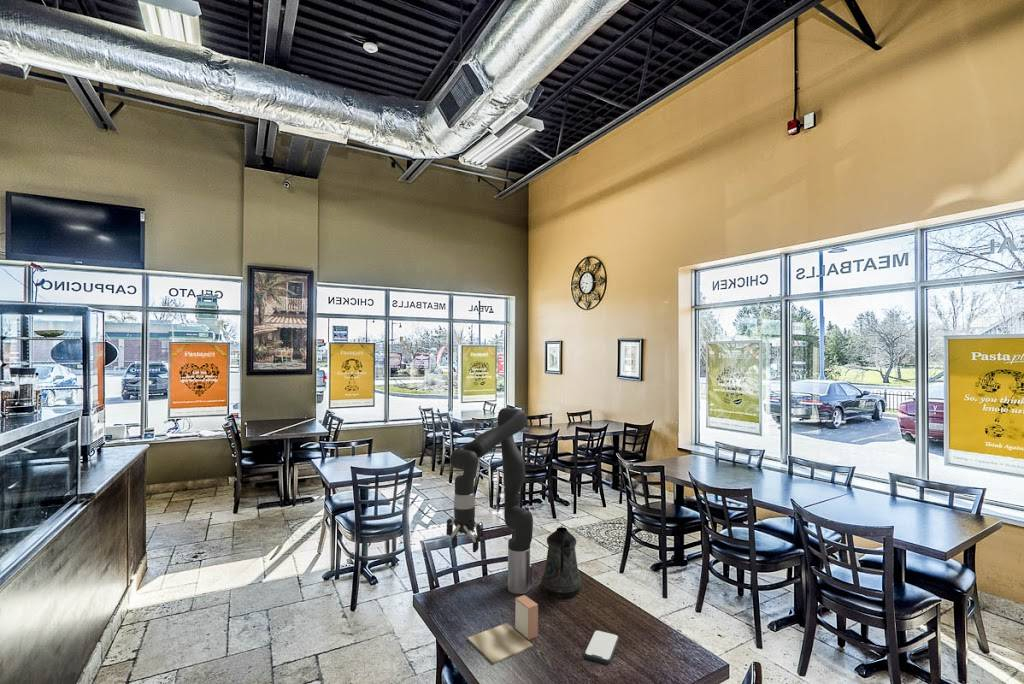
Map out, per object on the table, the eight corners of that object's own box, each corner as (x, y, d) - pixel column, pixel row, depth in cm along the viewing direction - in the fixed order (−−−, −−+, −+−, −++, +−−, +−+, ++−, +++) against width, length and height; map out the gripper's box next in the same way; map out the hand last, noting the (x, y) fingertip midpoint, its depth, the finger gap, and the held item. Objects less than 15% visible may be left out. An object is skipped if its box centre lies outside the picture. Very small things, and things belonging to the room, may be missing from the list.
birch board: (506, 624, 177) (506, 622, 177) (533, 647, 164) (533, 645, 164) (467, 639, 168) (467, 637, 168) (492, 664, 155) (492, 662, 155)
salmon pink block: (524, 625, 177) (524, 594, 177) (537, 636, 170) (538, 604, 170) (514, 629, 174) (515, 598, 174) (528, 640, 168) (528, 608, 168)
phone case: (594, 633, 173) (582, 658, 158) (594, 629, 173) (582, 653, 158) (619, 639, 170) (610, 666, 155) (619, 635, 170) (610, 661, 155)
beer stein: (563, 575, 216) (564, 518, 216) (594, 594, 200) (595, 532, 200) (533, 585, 206) (534, 526, 207) (563, 606, 190) (564, 541, 191)
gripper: (486, 504, 178) (487, 548, 178) (453, 499, 184) (453, 542, 185) (476, 511, 172) (476, 557, 172) (442, 505, 178) (442, 550, 178)
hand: (464, 549), depth 178 cm, fingers open, 8 cm apart
